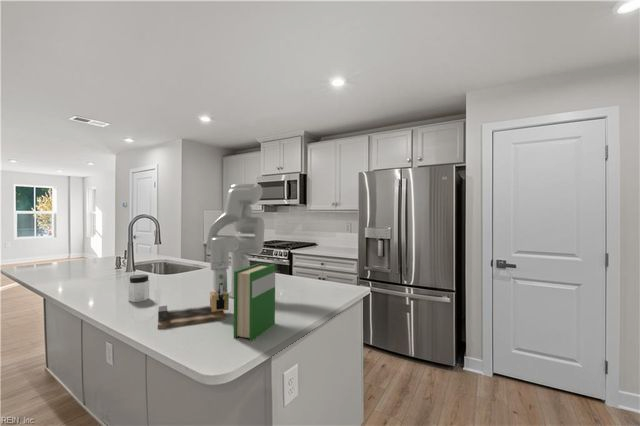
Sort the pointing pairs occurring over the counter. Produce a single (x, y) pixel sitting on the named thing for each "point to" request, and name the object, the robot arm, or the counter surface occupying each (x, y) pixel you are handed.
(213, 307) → the wooden block
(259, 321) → the hardback book
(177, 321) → the rail board
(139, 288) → the jar
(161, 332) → the counter surface
